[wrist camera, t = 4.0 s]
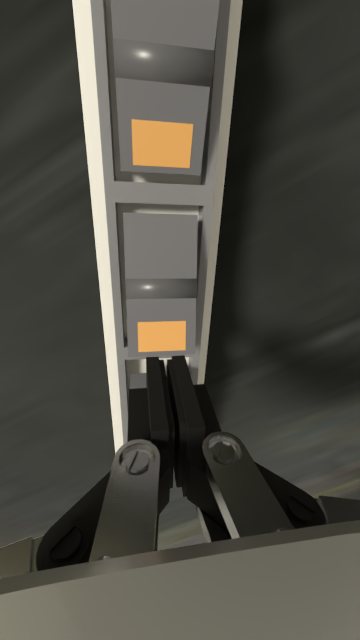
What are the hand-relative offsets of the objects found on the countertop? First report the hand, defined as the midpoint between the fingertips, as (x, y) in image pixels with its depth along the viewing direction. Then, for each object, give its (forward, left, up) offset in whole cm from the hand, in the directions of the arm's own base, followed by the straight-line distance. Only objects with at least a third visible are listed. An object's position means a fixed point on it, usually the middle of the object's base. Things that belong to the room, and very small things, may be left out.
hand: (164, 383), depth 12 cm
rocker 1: (0, -12, -6) cm, 14 cm away
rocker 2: (0, -2, -6) cm, 6 cm away
